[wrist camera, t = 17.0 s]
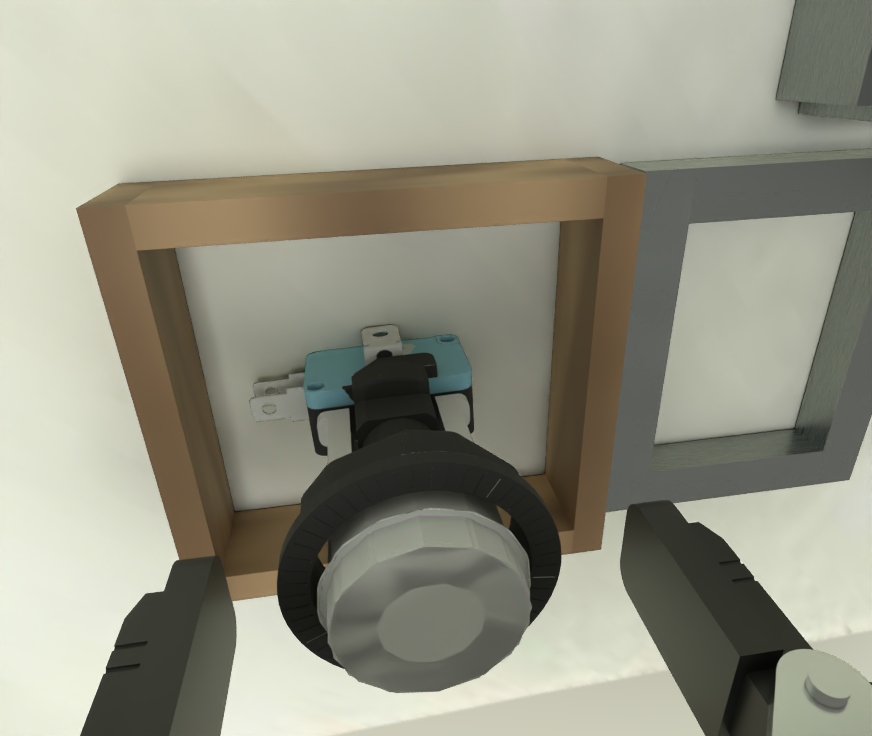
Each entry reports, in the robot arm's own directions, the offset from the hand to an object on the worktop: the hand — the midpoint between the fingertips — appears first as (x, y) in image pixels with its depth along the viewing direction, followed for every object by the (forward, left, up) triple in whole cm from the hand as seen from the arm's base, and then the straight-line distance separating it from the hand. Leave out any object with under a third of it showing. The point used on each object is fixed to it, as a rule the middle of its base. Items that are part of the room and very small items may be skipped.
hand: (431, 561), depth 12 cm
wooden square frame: (0, 0, -8) cm, 8 cm away
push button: (+1, 0, -9) cm, 9 cm away
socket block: (-12, 0, -8) cm, 14 cm away
